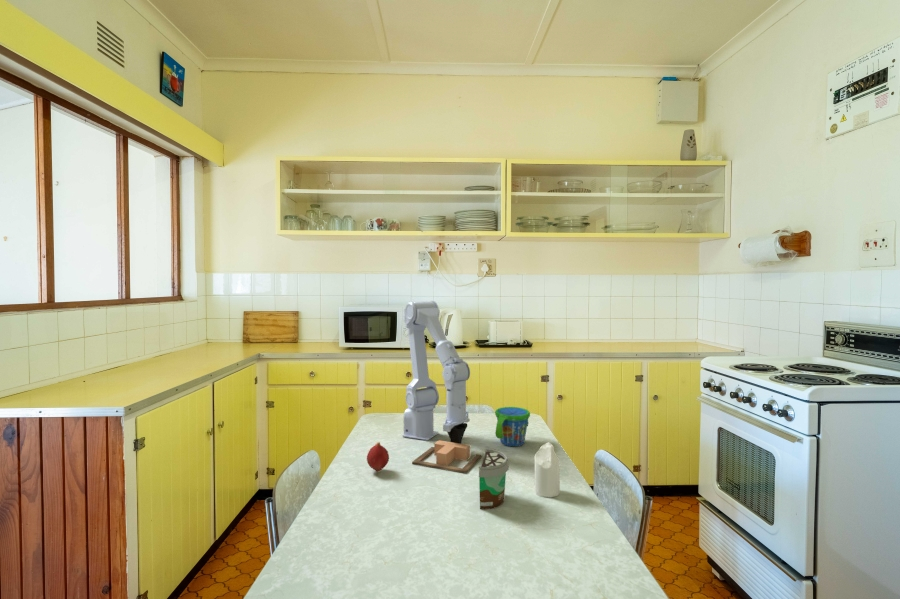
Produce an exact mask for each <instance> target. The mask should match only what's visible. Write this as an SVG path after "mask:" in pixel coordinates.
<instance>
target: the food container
mask: <svg viewBox="0 0 900 599" xmlns="http://www.w3.org/2000/svg"><path fill="white" fill-rule="evenodd" d="M509 469H510V464H509V461H508V458H507V456H506V455H505V453H503V452H501V451H499V450H496V449H492V448H485V455H484V457H483V460H482V463H481V466H478V478H479V482H478V485H479V510H492V509H495V508H498V507H500V506H502V505H503V504H504V502H505V489H506V478H507V472H508V471H509Z"/></svg>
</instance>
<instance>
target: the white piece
mask: <svg viewBox="0 0 900 599" xmlns="http://www.w3.org/2000/svg"><path fill="white" fill-rule="evenodd" d="M560 464H561V462H560V458H559V457H558V455H557V453H556V451H555V447H554V445H553V444H552V443H551V442H548V441H547V442H545V443H544V444H542V445H541V446H540V448H539V449H538V450H537V451H536V453H535V455H534V493H535V494H536V495H537V496H539V497H544V498H554V497H557V496H559V495H560V490H561V488H560V483H561V481H560V480H561V479H560V478H561V475H560V474H561V473H560V471H561V466H560Z"/></svg>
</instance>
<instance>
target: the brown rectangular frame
mask: <svg viewBox="0 0 900 599" xmlns="http://www.w3.org/2000/svg"><path fill="white" fill-rule="evenodd" d="M432 453H433V454H434V447H433V446H431V447H430V448H428V449H427V450H426V451H424V452H423V453H422V454H421V455H419V456H418V457H417V458H415V459H414V460H413V461H412V463H411V464H412V465H417V466H421V467H427V468H433V469H439V470H445V471H450V472H454V473H461V474H465V475H466V474H467V472H469V471H470V469H471V468H473V466H474V465H475V464H476V463H477V462H478V461H479V460H480V459H481V458H482V457H483V456H482V454H481V453H480V454H479V453H476V454H475V455H474V456H473V457H472V458H471V459H470V460H469V461H468V462H467V463H466V464H465V465H464V466H463V467H458V466H453V465H448V466H447V465H441V464H436V463H434V462H428V461H424V460H425V459H426V458H428V456H430V455H431V454H432Z"/></svg>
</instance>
